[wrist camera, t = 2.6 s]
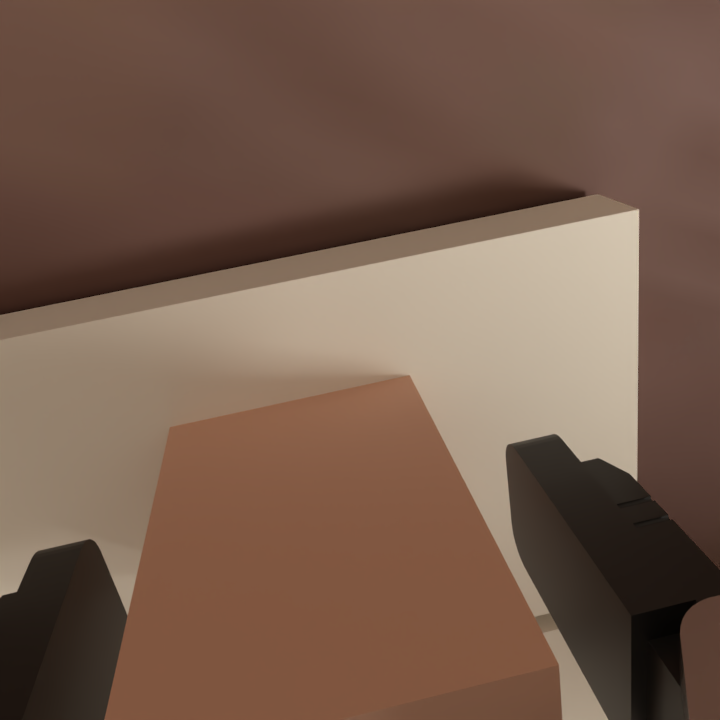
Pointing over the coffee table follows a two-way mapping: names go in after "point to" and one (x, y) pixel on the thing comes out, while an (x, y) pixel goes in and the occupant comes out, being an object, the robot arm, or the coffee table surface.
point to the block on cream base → (325, 463)
